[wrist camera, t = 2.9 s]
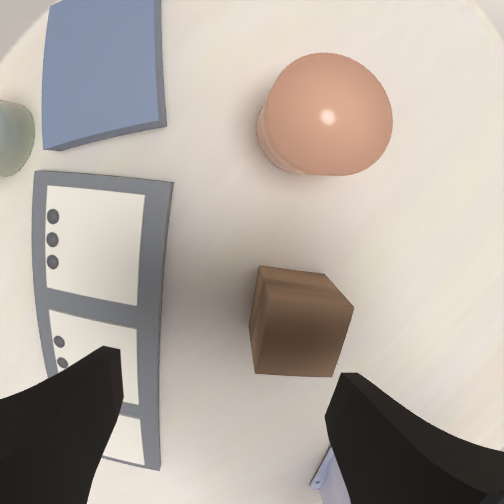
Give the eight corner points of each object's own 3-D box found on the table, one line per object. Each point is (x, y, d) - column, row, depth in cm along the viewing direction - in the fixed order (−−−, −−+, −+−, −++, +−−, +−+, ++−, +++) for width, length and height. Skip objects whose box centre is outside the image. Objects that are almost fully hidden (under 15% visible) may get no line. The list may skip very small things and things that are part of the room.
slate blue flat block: (168, 127, 16) (158, 120, 14) (63, 151, 16) (43, 149, 14) (162, -11, 14) (154, -29, 11) (65, 18, 13) (50, 5, 11)
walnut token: (309, 331, 19) (331, 377, 15) (248, 326, 19) (254, 373, 14) (324, 273, 19) (354, 307, 14) (259, 265, 18) (270, 298, 13)
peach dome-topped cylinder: (335, 182, 17) (383, 188, 11) (249, 165, 17) (259, 161, 11) (347, 101, 16) (397, 74, 10) (264, 81, 15) (280, 39, 10)
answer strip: (160, 464, 22) (159, 473, 21) (71, 441, 21) (67, 449, 20) (173, 182, 17) (169, 183, 15) (41, 170, 16) (31, 171, 14)
